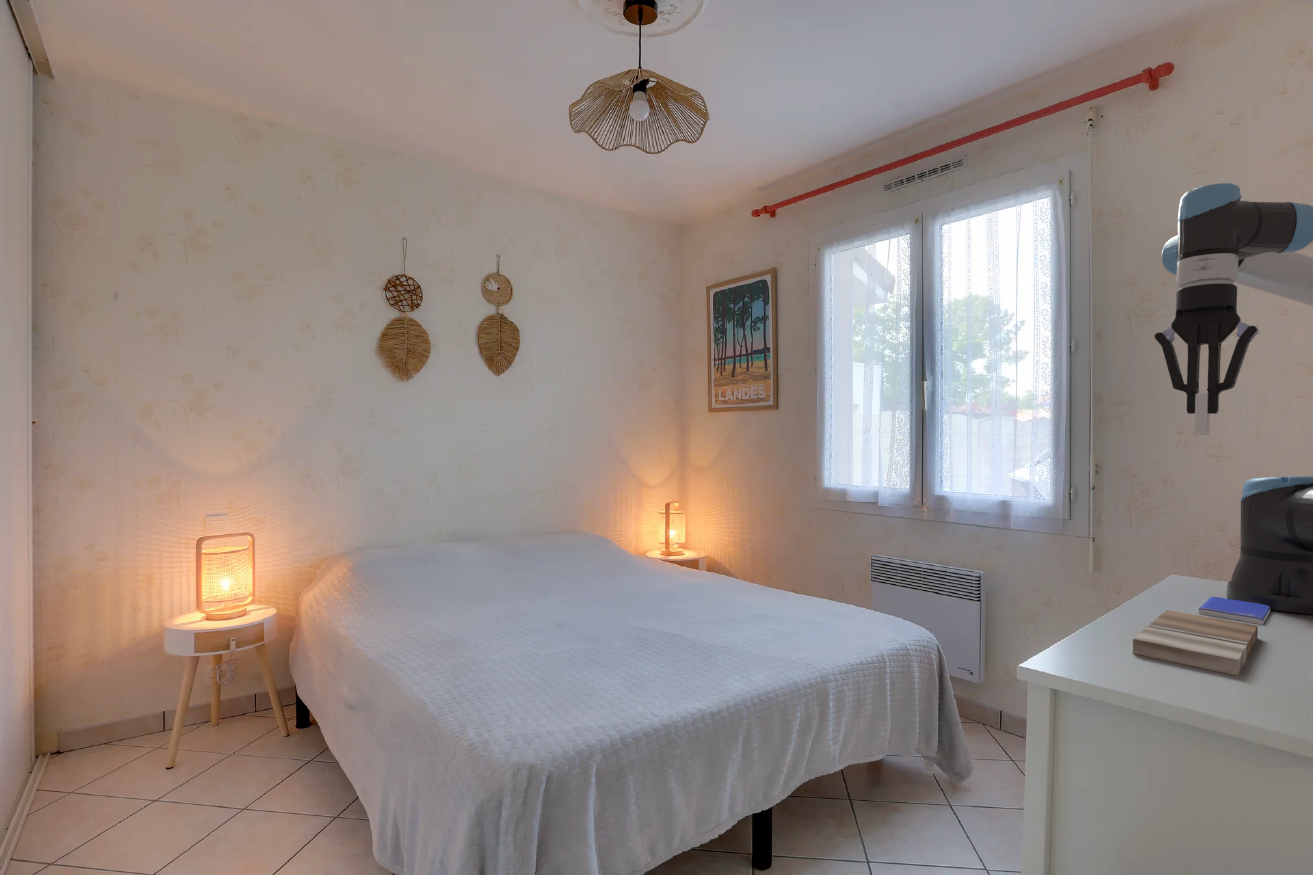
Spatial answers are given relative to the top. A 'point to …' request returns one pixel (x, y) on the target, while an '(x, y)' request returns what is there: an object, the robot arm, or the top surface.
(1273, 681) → the top surface
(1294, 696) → the top surface
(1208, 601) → the hard drive
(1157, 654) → the grey oak plank
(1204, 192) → the robot arm
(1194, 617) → the walnut plank
